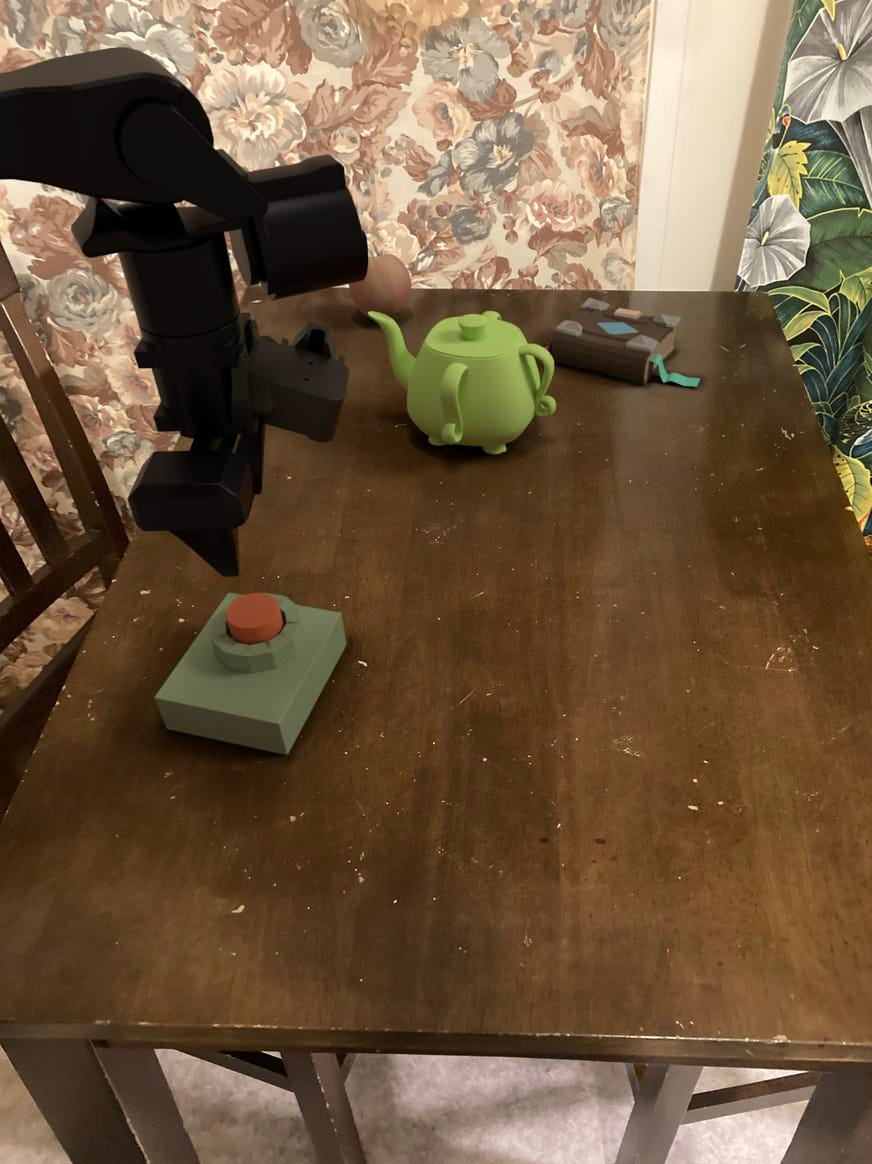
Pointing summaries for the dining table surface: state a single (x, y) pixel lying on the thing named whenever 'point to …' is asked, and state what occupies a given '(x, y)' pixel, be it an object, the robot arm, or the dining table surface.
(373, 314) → the teapot
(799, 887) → the dining table surface
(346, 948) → the dining table surface
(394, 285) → the apple
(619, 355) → the book
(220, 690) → the push button box
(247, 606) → the lid button
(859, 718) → the dining table surface
